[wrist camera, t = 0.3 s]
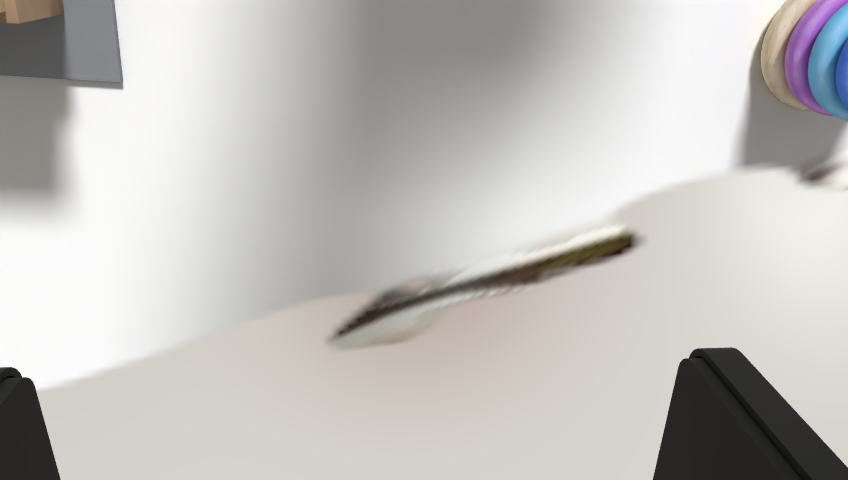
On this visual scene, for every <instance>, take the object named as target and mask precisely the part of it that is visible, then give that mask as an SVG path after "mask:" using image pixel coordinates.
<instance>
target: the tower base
mask: <svg viewBox="0 0 848 480" xmlns="http://www.w3.org/2000/svg"><path fill="white" fill-rule="evenodd" d="M4 5H5V10H6V12H1V13H0V22H2V23H16V24H20V23H24V22H29V21H33V20H38V19H42V18H47V17H51V16H56V15H60V14H64V7H63V0H4Z"/></svg>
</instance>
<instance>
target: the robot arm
mask: <svg viewBox="0 0 848 480" xmlns="http://www.w3.org/2000/svg"><path fill="white" fill-rule="evenodd" d="M0 480H60V476H59V473H58V469H57V465H56V462H55V458H54V455H53V451H52V447H51V444H50V440H49V436H48V433H47V429H46V425H45V422H44V418H43V415H42V411H41V407H40V404H39V400H38V396H37V393H36V389H35V386H34V383H33V381H32V380H31V379H30V378H26V377H24V378H22V376H21V374H20V372H19V371H18V370H17V369H15V368H12V367H3V368H0ZM653 480H848V467H847V466H846V465H845V464H844V463H843V462H842V461H841V460H840V459H839V458H838V457H837V456H836V455H835V453H834V452H833V451H832V450H831V449H830V448H829V447H828V446H827V445H826V444H825V443H824V442H823V440H822V439H821V438H820V437H819V436H818V435H817V434H816V433H815V432H814V431H813V430H812V429H811V428H810V426H809V425H808V424H807V423H806V422H805V421H804V420H803V419H802V418H801V417H800V416H799V415H798V413H797V412H796V411H795V410H794V409H793V408H792V407H791V406H790V405H789V404H788V403H787V402H786V400H785V399H784V398H783V397H782V396H781V395H780V394H779V393H778V392H777V391H776V390H775V389H774V387H773V386H772V385H771V384H770V383H769V382H768V381H767V380H766V379H765V378H764V377H763V376H762V374H761V373H760V372H759V371H758V370H757V369H756V368H755V367H754V366H753V365H752V364H751V363H750V362H749V361H748V359H747V358H746V357H745V356H744V355H743V354H742V353H741V352H740V351H739V350H737V349H735V348H700V349H695V350H694V351H693V352H692V353H691V354H690V357H689V358H688V359H683V360H682V361H681V362H680V365H679V367H678V372H677V376H676V380H675V385H674V389H673V393H672V398H671V402H670V407H669V411H668V416H667V420H666V424H665V429H664V433H663V438H662V442H661V446H660V451H659V455H658V460H657V464H656V469H655V473H654V477H653Z"/></svg>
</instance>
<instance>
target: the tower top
mask: <svg viewBox="0 0 848 480" xmlns="http://www.w3.org/2000/svg"><path fill="white" fill-rule="evenodd" d="M1 12H6V10H5V5H4V0H0V13H1Z"/></svg>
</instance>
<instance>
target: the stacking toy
mask: <svg viewBox="0 0 848 480" xmlns="http://www.w3.org/2000/svg"><path fill="white" fill-rule="evenodd" d="M761 68H762V73H763V77H764V80H765V82H766V84H767V86H768V88H769V89H770V91H771V92H772V93H773V94H774V95H775V96H776V97H777V98H778V99H779V100H780V101H782V102H783V103H785V104H787V105H789V106H791V107H793V108H796V109H800V110H806V111H815V112H818V113H820V114H825V115H831V116H836V117H838V118H841V119H845V120H848V0H787V1H786V2H785V3H784V4H783V5H782V6H781V8H780V9H779V10H778V12H777V13H776V14H775V16H774V18H773V19H772V21H771V23H770V25H769V27H768V29H767V32H766V34H765V37H764V41H763V45H762V50H761Z"/></svg>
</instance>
